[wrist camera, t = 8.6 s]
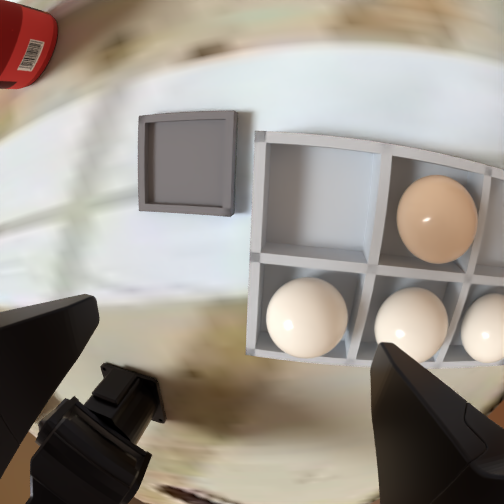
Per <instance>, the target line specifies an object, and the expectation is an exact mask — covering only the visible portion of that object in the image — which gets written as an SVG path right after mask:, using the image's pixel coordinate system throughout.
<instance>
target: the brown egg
mask: <svg viewBox="0 0 504 504" xmlns="http://www.w3.org/2000/svg"><path fill="white" fill-rule="evenodd" d="M477 226H478V215H477V209H476V206H475V203H474V201H473V199H472V197H471V195H470V194H469V192H468V191H467V190H466V188H465V187H464V186H463V185H461V184H460V183H459V182H457V181H456V180H454V179H452V178H450V177H447V176H444V175H429V176H425V177H422V178H420V179H418V180H416V181H414V182H413V183H412V184H411V185H410V186H409V187H408V188H407V189H406V190H405V192H404V193H403V195H402V197H401V199H400V201H399V204H398V209H397V228H398V231H399V235H400V237H401V239H402V241H403V243H404V245H405V246H406V247H407V249H408V250H409V251H410V252H411V253H412V254H413V255H415V256H416V257H418V258H419V259H421V260H423V261H426V262H429V263H434V264H443V263H448V262H451V261H454V260H456V259H457V258H459V257H460V256H462V255H463V254H464V253H465V252H466V251H467V250H468V249H469V247H470V246H471V244H472V242H473V240H474V238H475V235H476V232H477Z"/></svg>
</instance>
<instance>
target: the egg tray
mask: <svg viewBox="0 0 504 504" xmlns="http://www.w3.org/2000/svg"><path fill="white" fill-rule="evenodd" d="M429 175H444V176H447V177H450V178H452V179H454V180H456V181H457V182H459V183H460V184H461V185H463V186H464V187H465V188H466V190H467V191H468V192H469V194H470V195H471V197H472V199H473V201H474V203H475V206H476V209H477V215H478V226H477V232H476V235H475V238H474V240H473V242H472V244H471V246H470V247H469V249H468V250H467V251H466V252H465V253H464V254H463V255H462V256H460V257H459V258H457V259H456V260H454V261H451V262H448V263H443V264H434V263H429V262H426V261H423V260H421V259H419V258H418V257H416V256H415V255H413V254H412V253H411V252H410V251H409V250H408V249H407V247H406V246H405V245H404V243H403V241H402V239H401V237H400V235H399V231H398V228H397V209H398V204H399V201H400V199H401V197H402V195H403V193H404V192H405V190H406V189H407V188H408V187H409V186H410V185H411V184H412V183H413V182H414V181H416V180H418V179H420V178H422V177H425V176H429ZM301 277H315V278H319V279H322V280H324V281H327V282H328V283H330V284H331V285H333V286H334V287H335V288H336V289H337V290H338V291H339V292H340V294H341V295H342V297H343V299H344V301H345V303H346V306H347V311H348V323H347V328H346V331H345V333H344V335H343V337H342V339H341V340H340V342H339V343H338V344H337V345H336V346H335V347H334V348H333V349H332V350H331V351H329V352H328V353H326V354H324V355H321V356H319V357H315V358H297V357H294V356H291V355H289V354H287V353H285V352H284V351H282V350H281V349H280V348H279V347H278V346H277V345H276V344H275V343H274V342H273V340H272V339H271V337H270V335H269V332H268V329H267V324H266V314H267V308H268V305H269V302H270V300H271V298H272V297H273V295H274V294H275V292H276V291H277V290H278V289H279V288H280V287H281V286H283V285H284V284H286V283H287V282H289V281H291V280H294V279H297V278H301ZM407 287H420V288H424V289H427V290H429V291H431V292H432V293H434V294H435V295H436V296H437V297H438V298H439V299H440V300H441V301H442V303H443V305H444V307H445V309H446V312H447V316H448V331H447V335H446V338H445V341H444V343H443V345H442V346H441V348H440V349H439V350H438V351H437V353H436V354H435V355H433V356H432V357H431V358H430V359H428V360H426V361H424V362H422V363H419V364H421V365H422V366H423V367H424V368H426V369H432V368H468V367H486V366H499V365H504V358H503V359H501V360H499V361H497V362H493V363H482V362H479V361H476V360H475V359H473V358H472V357H471V356H470V355H469V354H468V353H467V352H466V350H465V348H464V346H463V344H462V340H461V323H462V320H463V317H464V314H465V312H466V310H467V309H468V307H469V306H470V305H471V304H472V303H473V302H474V301H475V300H476V299H477V298H479V297H481V296H483V295H486V294H489V293H498V294H502V295H504V170H502V169H499V168H496V167H492V166H489V165H485V164H482V163H478V162H474V161H470V160H466V159H462V158H458V157H454V156H450V155H445V154H441V153H436V152H432V151H427V150H422V149H417V148H411V147H406V146H400V145H394V144H388V143H382V142H375V141H368V140H361V139H353V138H345V137H336V136H326V135H316V134H303V133H289V132H271V131H255V143H254V166H253V190H252V213H251V238H250V262H249V286H248V311H247V336H246V355H251V356H258V357H265V358H272V359H280V360H289V361H297V362H307V363H317V364H328V365H341V366H356V367H371V364H372V361H373V358H374V355H375V352H376V349H377V346H378V344H377V341H376V338H375V331H374V327H375V319H376V316H377V313H378V310H379V308H380V307H381V305H382V304H383V302H384V301H385V300H386V299H387V298H388V297H389V296H390V295H391V294H393V293H394V292H396V291H398V290H400V289H403V288H407Z"/></svg>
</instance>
